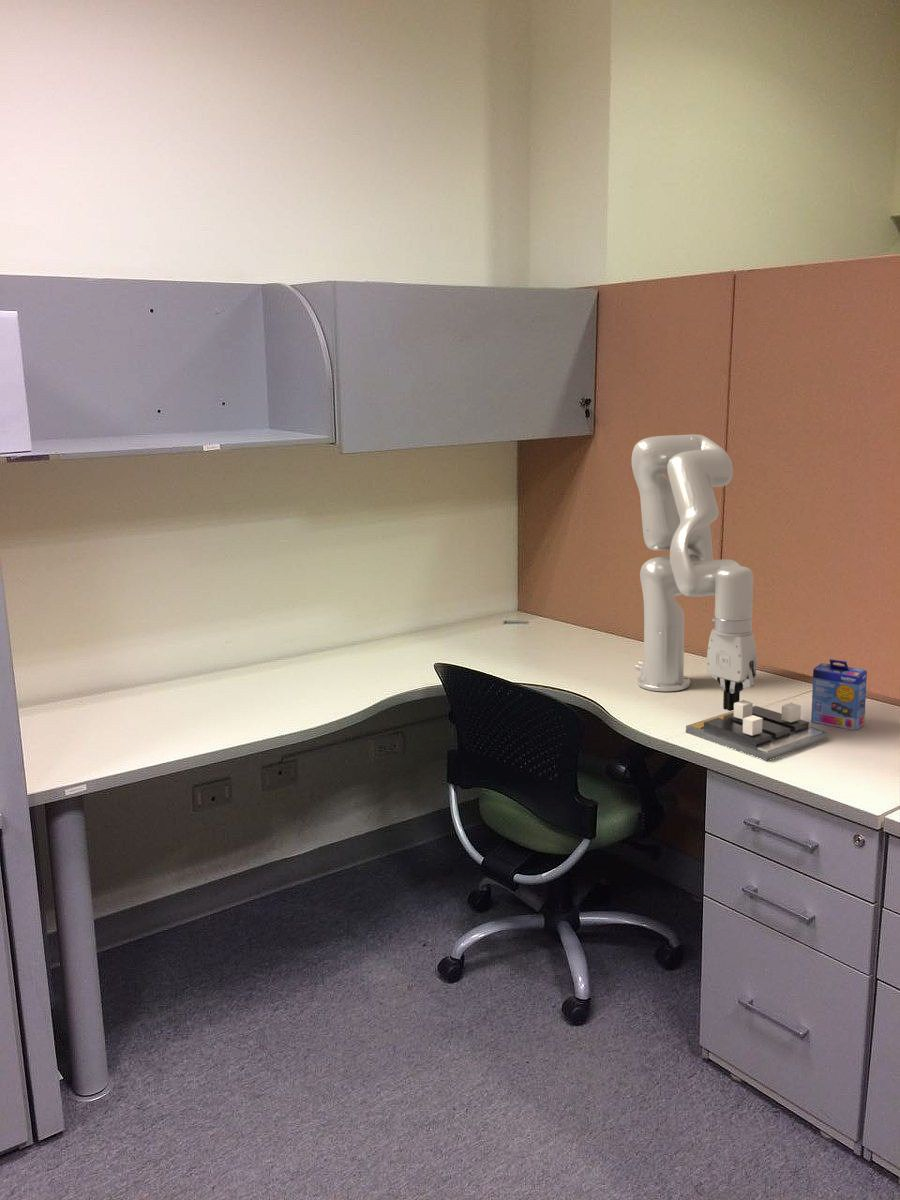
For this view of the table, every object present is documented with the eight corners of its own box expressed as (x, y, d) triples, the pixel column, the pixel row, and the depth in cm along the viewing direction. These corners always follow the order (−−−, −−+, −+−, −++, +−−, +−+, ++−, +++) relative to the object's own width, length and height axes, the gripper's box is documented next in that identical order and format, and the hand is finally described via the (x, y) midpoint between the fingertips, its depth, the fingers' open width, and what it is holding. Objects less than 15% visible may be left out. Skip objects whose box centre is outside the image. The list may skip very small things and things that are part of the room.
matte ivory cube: (733, 716, 213) (733, 703, 212) (743, 713, 214) (743, 700, 214) (742, 719, 211) (743, 705, 210) (752, 716, 212) (752, 702, 212)
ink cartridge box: (809, 722, 217) (812, 658, 214) (818, 715, 221) (821, 652, 218) (856, 731, 211) (860, 665, 208) (865, 724, 215) (868, 658, 212)
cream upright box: (742, 732, 204) (742, 718, 203) (752, 729, 205) (752, 715, 204) (752, 735, 202) (752, 721, 201) (762, 732, 203) (762, 718, 203)
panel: (686, 732, 214) (686, 719, 213) (745, 713, 224) (746, 700, 224) (766, 761, 197) (767, 746, 196) (827, 739, 207) (828, 725, 206)
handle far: (781, 719, 210) (781, 705, 209) (790, 716, 212) (791, 702, 211) (790, 722, 208) (791, 708, 207) (800, 719, 210) (800, 705, 209)
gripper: (693, 621, 215) (692, 703, 219) (749, 635, 203) (747, 721, 207) (717, 616, 219) (716, 696, 223) (774, 628, 207) (771, 713, 211)
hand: (731, 708), depth 215 cm, fingers closed
